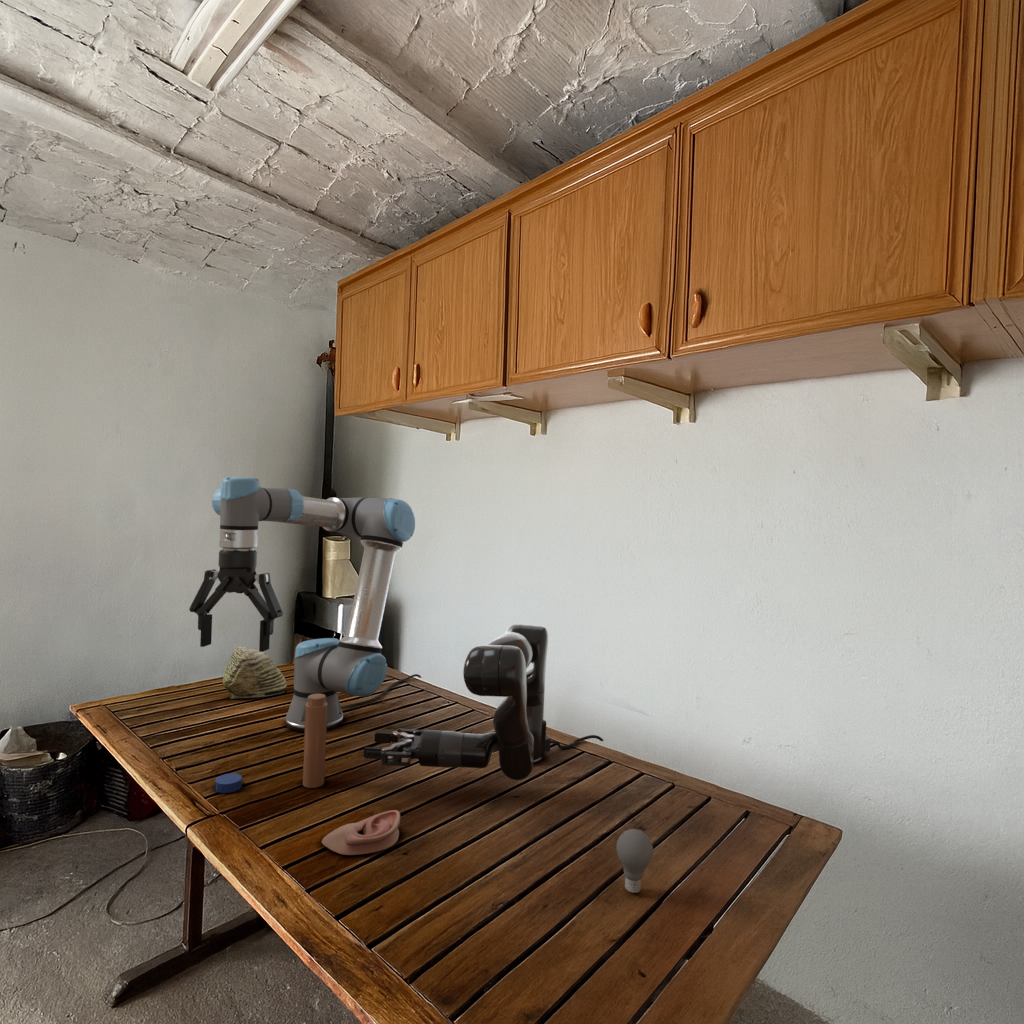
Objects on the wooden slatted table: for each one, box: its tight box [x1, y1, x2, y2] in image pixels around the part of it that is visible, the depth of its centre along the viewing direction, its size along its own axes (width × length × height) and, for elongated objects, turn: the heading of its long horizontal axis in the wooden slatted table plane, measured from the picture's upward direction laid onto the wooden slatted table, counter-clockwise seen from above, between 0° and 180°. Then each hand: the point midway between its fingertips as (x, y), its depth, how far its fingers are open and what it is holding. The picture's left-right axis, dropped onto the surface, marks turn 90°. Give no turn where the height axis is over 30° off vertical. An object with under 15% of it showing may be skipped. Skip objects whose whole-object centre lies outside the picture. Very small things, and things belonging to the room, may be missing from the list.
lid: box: [214, 772, 243, 794], centre depth 136 cm, size 5×5×2 cm
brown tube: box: [302, 694, 327, 789], centre depth 140 cm, size 5×5×19 cm
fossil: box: [222, 646, 288, 699], centre depth 198 cm, size 9×18×15 cm, turn 132°
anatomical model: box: [321, 809, 401, 856], centre depth 118 cm, size 13×4×12 cm
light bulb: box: [615, 828, 654, 894], centre depth 106 cm, size 6×6×10 cm
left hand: (234, 648), depth 136 cm, fingers open, 13 cm apart
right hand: (369, 744), depth 139 cm, fingers open, 8 cm apart
